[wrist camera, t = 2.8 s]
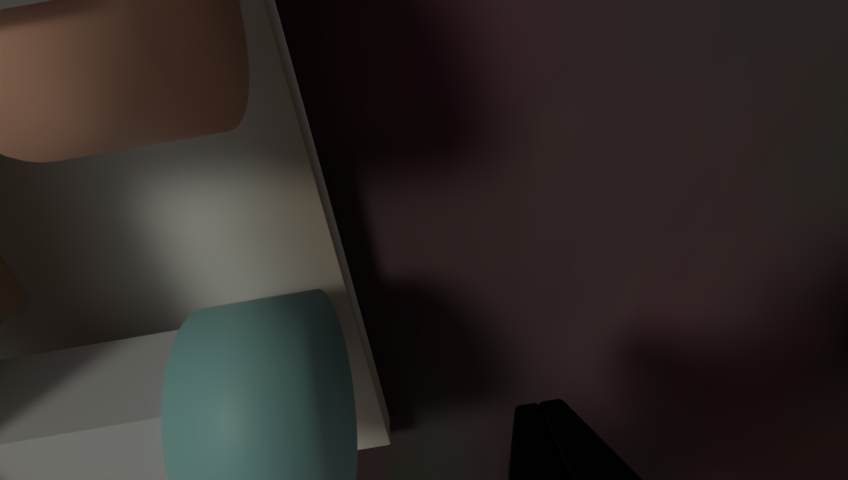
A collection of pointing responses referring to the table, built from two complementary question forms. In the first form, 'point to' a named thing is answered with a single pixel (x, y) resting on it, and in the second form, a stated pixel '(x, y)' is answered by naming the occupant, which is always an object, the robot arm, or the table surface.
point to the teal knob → (190, 400)
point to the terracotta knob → (117, 74)
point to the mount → (182, 230)
